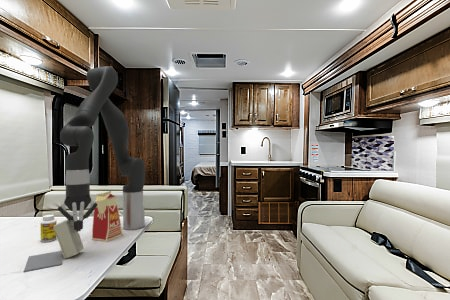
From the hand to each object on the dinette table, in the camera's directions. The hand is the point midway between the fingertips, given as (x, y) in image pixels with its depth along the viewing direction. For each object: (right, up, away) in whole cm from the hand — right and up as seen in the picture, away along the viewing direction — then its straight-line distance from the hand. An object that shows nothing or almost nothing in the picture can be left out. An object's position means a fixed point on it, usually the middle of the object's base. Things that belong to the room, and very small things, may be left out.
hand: (78, 230), depth 96 cm
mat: (-9, -9, -5) cm, 13 cm away
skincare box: (-1, -8, 0) cm, 8 cm away
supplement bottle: (-21, -9, +16) cm, 28 cm away
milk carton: (+2, -9, +19) cm, 21 cm away
